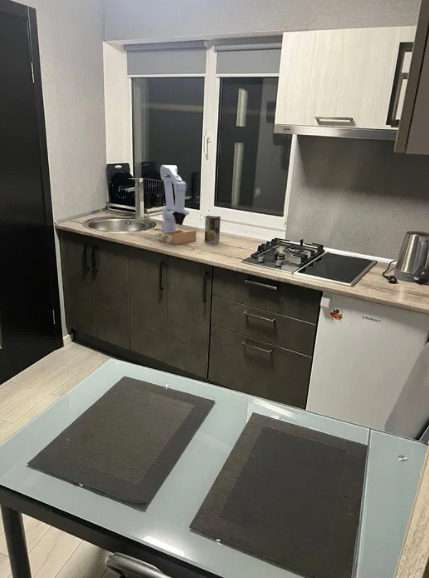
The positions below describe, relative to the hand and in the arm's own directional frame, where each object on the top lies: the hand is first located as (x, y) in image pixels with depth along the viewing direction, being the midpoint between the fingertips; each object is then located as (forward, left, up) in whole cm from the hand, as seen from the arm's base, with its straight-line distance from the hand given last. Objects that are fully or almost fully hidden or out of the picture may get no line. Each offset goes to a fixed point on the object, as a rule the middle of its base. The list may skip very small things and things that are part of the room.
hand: (179, 224), depth 263 cm
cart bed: (-2, 0, -10) cm, 11 cm away
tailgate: (+6, 0, -10) cm, 12 cm away
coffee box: (+13, +16, -11) cm, 23 cm away
